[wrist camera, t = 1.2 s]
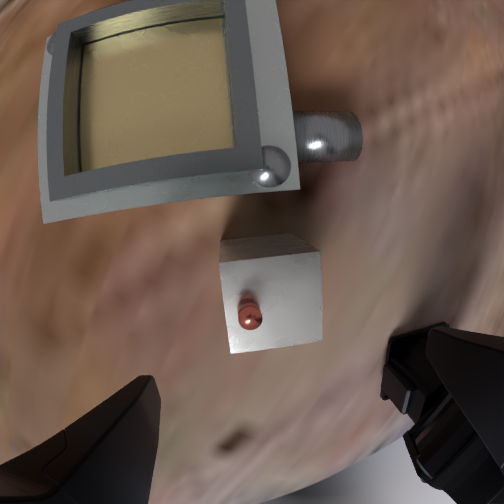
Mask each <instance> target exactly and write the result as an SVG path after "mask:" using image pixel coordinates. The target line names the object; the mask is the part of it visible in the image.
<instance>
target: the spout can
mask: <svg viewBox="0 0 504 504" xmlns="http://www.w3.org/2000/svg"><path fill="white" fill-rule="evenodd" d="M219 269H220V277H221V285H222V293H223V301H224V308H225V315H226V323H227V330H228V337H229V344H230V350H231V354H232V353H241V352H249V351H257V350H265V349H272V348H279V347H286V346H292V345H299V344H305V343H311V342H316V341H322V275H321V251H319V250H318V249H316V248H315V247H313V246H312V245H310V244H308V243H307V242H305V241H304V240H302V239H300V238H299V237H297V236H296V235H294V234H292V233H285V234H276V235H266V236H256V237H247V238H238V239H229V240H220V252H219Z"/></svg>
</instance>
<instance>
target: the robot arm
mask: <svg viewBox="0 0 504 504" xmlns="http://www.w3.org/2000/svg"><path fill="white" fill-rule="evenodd" d="M394 342H395V344H394V345H393V343H394ZM380 397H381V398H382V399H383V400H388V399H390V400H391V401H392V402H393V403H394V405H395V406H396V407H397V409H398V410H399V411H400V412H401V413H402V414H403V415H404V414H408V416H409V417H410V418H411V419H412V421H413V422H414V423H415V425H414V426H413V427H412V428H411V429H410V430H409V431H407V432H406V433H405V434H404V435H403V438H404V440H405V444H406V447H407V449H408V452H409V454H410V457H411V459H412V462H413V465H414V467H415V470H416V473H417V475H418V476H419V477H420V479H421V481H422V482H424V483H427V484H429V485H430V486H432V487H434V488H435V489H438V490H443V491H445V492H446V493H447V494H448V495H449V496H450V497H451V498H452V499H453V500H454V501H455V502H456V503H457V504H504V337H500V336H494V335H487V334H482V333H476V332H470V331H464V330H459V329H453V328H449V325H448V324H447V323H445V322H443V323H439V324H436V325H433V326H430V327H427V328H423V329H420V330H416V331H413V332H409V333H406V334H402V335H399V336H395V337H392V338H391V339H390V340H389V342H388V348H387V356H386V363H385V365H384V370H383V377H382V383H381V394H380ZM160 410H161V398H160V395H159V392H158V388H157V385H156V382H155V379H154V377H153V376H151V375H141V376H138V377H137V378H136V379H134V380H133V381H131V382H130V383H129V384H127V385H126V386H124V387H123V388H122V389H120V390H119V391H118V392H116V393H115V394H113V395H112V396H111V397H109V398H108V399H106V400H105V401H103V402H102V403H101V404H99V405H98V406H96V407H95V408H93V409H92V410H91V411H89V412H88V413H86V414H85V415H83V416H82V417H81V418H79V419H78V420H76V421H75V422H73V423H72V424H70V425H69V426H67V427H66V428H65V430H61V431H60V432H59V433H57V434H56V435H54V436H53V437H51V438H49V439H48V440H46V441H45V442H43V443H41V444H40V445H38V446H36V447H34V448H32V449H31V450H29V451H27V452H25V453H23V454H21V455H19V456H17V457H15V458H13V459H11V460H9V461H7V462H5V463H3V464H1V465H0V504H148V501H149V495H150V489H151V482H152V477H153V471H154V465H155V460H156V454H157V448H158V441H159V425H160Z"/></svg>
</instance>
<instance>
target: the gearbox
mask: <svg viewBox="0 0 504 504" xmlns="http://www.w3.org/2000/svg"><path fill="white" fill-rule="evenodd" d="M362 143H363V136H362V128H361V124H360V122H359V119H358V117H357V116H356V115H355V114H354V113H352V112H331V111H292V105H291V97H290V89H289V82H288V74H287V67H286V60H285V54H284V47H283V41H282V35H281V29H280V23H279V17H278V11H277V6H276V0H130V1H127V2H123V3H119V4H115V5H112V6H109V7H105V8H102V9H99V10H96V11H93V12H90V13H87V14H84V15H82V16H79V17H76V18H74V19H71V20H68V21H66V22H63V23H61V24H59V25H58V26H57V31H56V32H55V33H54V34H53V35H52V36H49V37H47V43H46V48H45V54H44V61H43V68H42V76H41V85H40V97H39V112H38V170H39V186H40V198H41V208H42V216H43V224H45V223H50V222H55V221H60V220H66V219H71V218H76V217H82V216H87V215H93V214H98V213H104V212H110V211H116V210H123V209H129V208H135V207H142V206H149V205H156V204H163V203H171V202H178V201H186V200H194V199H203V198H211V197H220V196H230V195H240V194H250V193H261V192H273V191H286V190H299V189H300V180H299V169H298V163H304V162H332V161H355V160H357V159H358V157H359V156H360V153H361V150H362Z"/></svg>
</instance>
